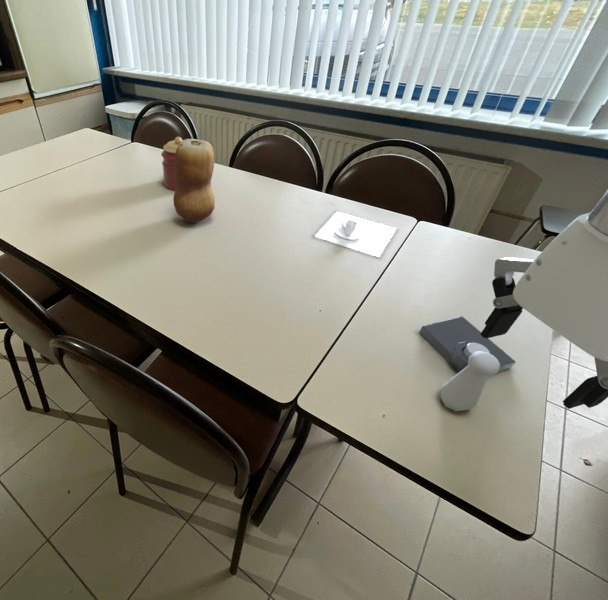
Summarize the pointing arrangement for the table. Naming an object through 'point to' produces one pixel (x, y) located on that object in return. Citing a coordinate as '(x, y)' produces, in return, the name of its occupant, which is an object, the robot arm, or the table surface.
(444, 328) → the plate
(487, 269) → the table surface
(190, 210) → the butternut squash
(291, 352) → the table surface
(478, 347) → the flush button
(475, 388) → the salt shaker
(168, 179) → the kitchen canister
